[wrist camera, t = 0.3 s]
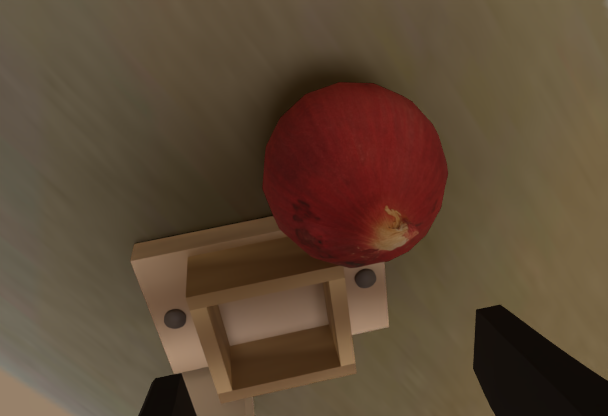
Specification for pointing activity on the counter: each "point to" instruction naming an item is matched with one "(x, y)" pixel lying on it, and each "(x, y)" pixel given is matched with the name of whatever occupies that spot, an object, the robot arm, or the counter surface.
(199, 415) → the post
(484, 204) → the counter surface
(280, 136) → the onion
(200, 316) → the bracket
